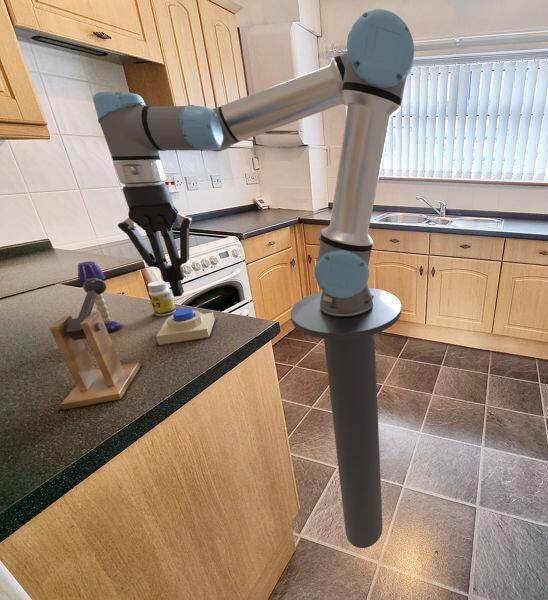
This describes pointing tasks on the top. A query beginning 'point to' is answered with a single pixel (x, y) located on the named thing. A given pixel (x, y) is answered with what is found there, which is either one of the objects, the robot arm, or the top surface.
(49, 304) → the top surface
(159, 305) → the supplement bottle
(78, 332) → the switch lever
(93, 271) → the toy lamp
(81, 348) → the lever bracket
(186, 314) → the switch button
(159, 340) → the button box
